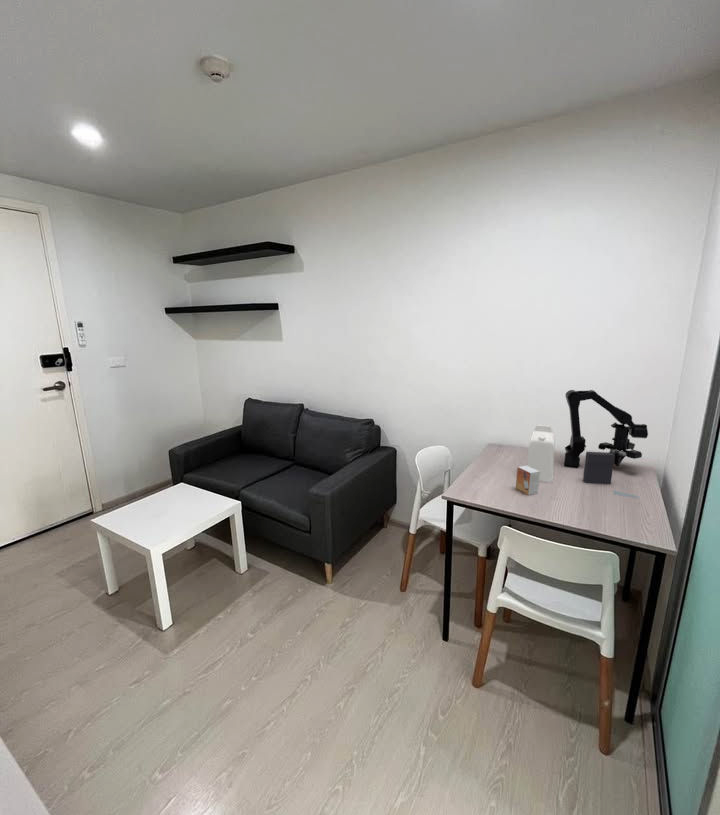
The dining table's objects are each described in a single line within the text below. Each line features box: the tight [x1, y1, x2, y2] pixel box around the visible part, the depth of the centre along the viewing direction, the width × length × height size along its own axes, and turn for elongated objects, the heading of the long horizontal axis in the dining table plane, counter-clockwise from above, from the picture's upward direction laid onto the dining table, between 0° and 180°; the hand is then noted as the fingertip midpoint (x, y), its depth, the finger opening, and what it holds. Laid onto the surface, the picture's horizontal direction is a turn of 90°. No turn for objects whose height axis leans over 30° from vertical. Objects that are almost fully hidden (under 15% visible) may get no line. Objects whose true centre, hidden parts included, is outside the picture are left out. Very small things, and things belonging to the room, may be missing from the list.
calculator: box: [582, 451, 615, 485], centre depth 185 cm, size 11×4×15 cm, turn 80°
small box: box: [515, 465, 540, 496], centre depth 178 cm, size 8×6×10 cm
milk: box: [526, 424, 556, 484], centre depth 192 cm, size 12×12×26 cm
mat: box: [612, 490, 640, 499], centre depth 177 cm, size 9×13×1 cm
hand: (617, 466), depth 201 cm, fingers closed
